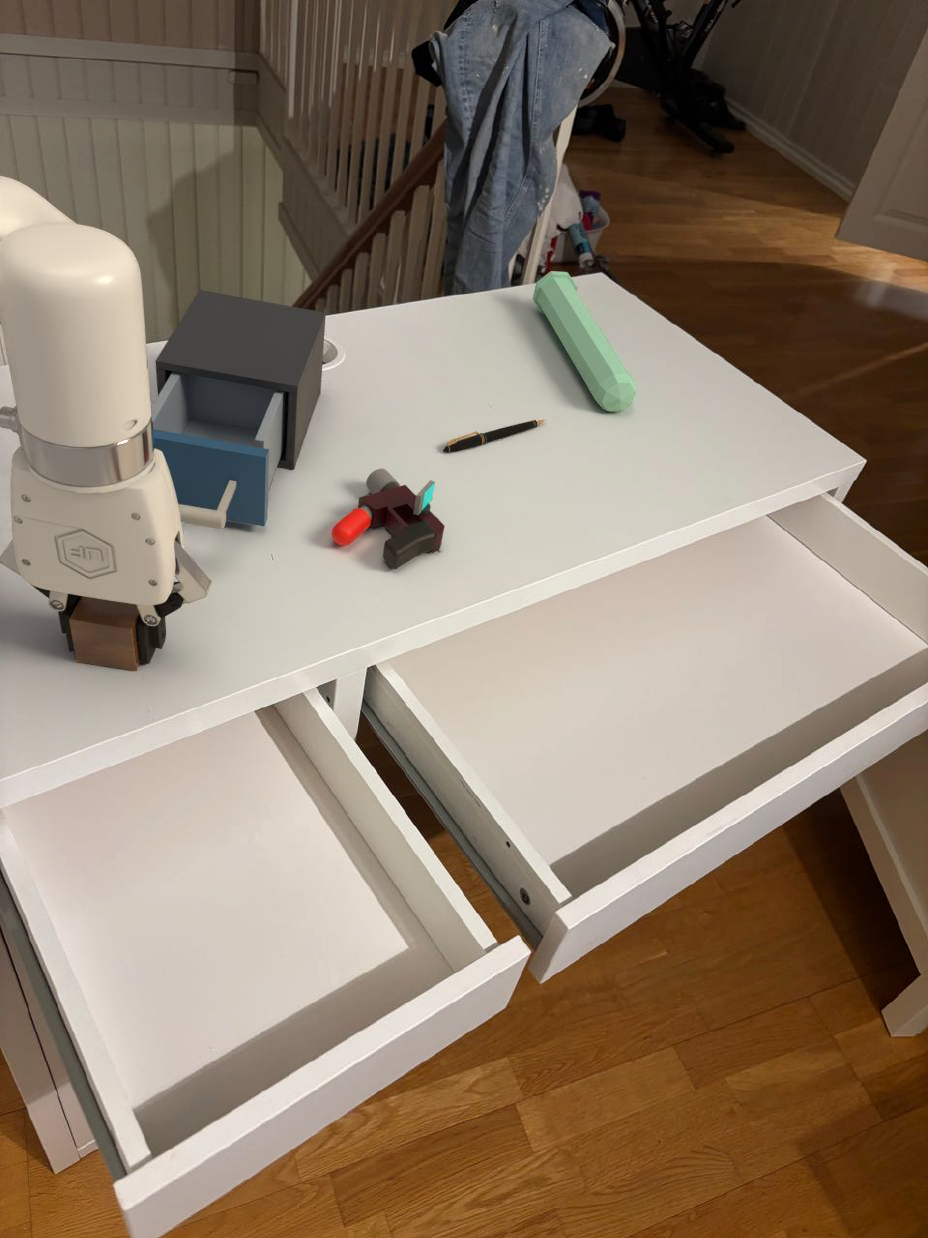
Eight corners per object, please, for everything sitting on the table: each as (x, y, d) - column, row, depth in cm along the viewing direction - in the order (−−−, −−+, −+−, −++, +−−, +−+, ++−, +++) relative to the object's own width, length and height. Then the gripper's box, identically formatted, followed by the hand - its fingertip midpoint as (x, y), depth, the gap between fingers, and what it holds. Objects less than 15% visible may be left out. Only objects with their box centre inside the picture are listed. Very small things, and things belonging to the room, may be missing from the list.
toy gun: (385, 479, 91) (390, 437, 88) (455, 553, 85) (464, 510, 81) (295, 503, 86) (297, 460, 83) (363, 584, 80) (368, 540, 77)
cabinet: (293, 470, 90) (297, 385, 84) (160, 446, 89) (155, 360, 83) (320, 392, 100) (325, 312, 94) (202, 371, 100) (199, 289, 93)
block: (75, 662, 69) (68, 619, 66) (96, 620, 72) (90, 578, 69) (136, 671, 69) (131, 629, 66) (154, 630, 72) (151, 588, 69)
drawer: (249, 569, 78) (249, 498, 73) (109, 546, 77) (100, 472, 72) (294, 441, 92) (297, 375, 87) (177, 421, 91) (173, 352, 86)
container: (643, 369, 103) (572, 263, 119) (592, 386, 103) (528, 278, 119) (647, 412, 107) (578, 304, 124) (598, 428, 107) (535, 318, 124)
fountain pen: (541, 422, 104) (544, 410, 103) (548, 427, 103) (551, 416, 102) (438, 452, 96) (440, 440, 95) (444, 458, 96) (447, 446, 95)
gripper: (-81, 448, 55) (-21, 662, 67) (211, 498, 56) (216, 699, 68) (-24, 383, 60) (22, 592, 73) (241, 429, 61) (240, 628, 74)
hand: (115, 642), depth 70 cm, fingers closed on block, 4 cm apart
